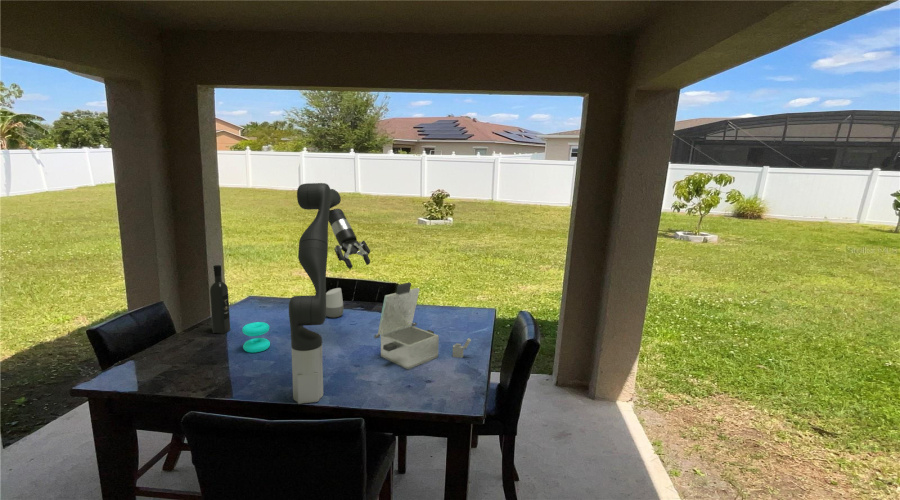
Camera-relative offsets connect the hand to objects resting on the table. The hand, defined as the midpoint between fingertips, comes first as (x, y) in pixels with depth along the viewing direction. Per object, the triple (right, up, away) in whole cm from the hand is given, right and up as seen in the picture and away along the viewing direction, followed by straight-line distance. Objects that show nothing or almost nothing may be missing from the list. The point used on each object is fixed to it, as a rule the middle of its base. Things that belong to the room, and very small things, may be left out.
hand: (360, 265), depth 176 cm
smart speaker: (-22, -27, +42) cm, 55 cm away
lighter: (+41, -36, -3) cm, 55 cm away
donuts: (-42, -34, 0) cm, 54 cm away
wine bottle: (-65, -30, +17) cm, 74 cm away
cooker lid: (+17, -17, -4) cm, 24 cm away
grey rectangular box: (+21, -36, -4) cm, 42 cm away
